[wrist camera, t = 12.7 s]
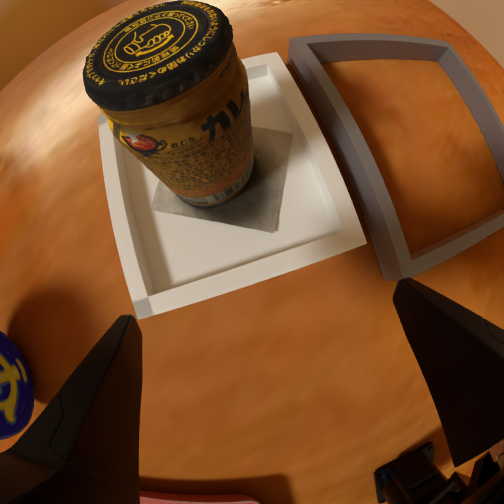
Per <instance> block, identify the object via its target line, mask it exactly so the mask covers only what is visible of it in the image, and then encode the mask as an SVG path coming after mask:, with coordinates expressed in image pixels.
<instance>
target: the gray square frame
mask: <svg viewBox="0 0 504 504" xmlns="http://www.w3.org/2000/svg"><path fill="white" fill-rule="evenodd" d="M366 59H412V60H429V61H438V62H439V64H440V65H441V66H442V68H443V69H444V71H445V72H446V73H447V75H448V76H449V78H450V79H451V81H452V82H453V84H454V85H455V87H456V88H457V90H458V91H459V93H460V94H461V96H462V98H463V99H464V101H465V103H466V104H467V106H468V108H469V109H470V111H471V113H472V115H473V117H474V118H475V120H476V122H477V124H478V126H479V128H480V130H481V132H482V134H483V136H484V138H485V140H486V142H487V144H488V147H489V149H490V151H491V153H492V156H493V158H494V160H495V163H496V165H497V168H498V170H499V173H500V176H501V178H502V181H503V184H504V126H503V124H502V122H501V120H500V118H499V116H498V114H497V113H496V111H495V109H494V107H493V105H492V104H491V102H490V100H489V99H488V97H487V95H486V94H485V92H484V90H483V89H482V87H481V86H480V84H479V83H478V81H477V80H476V78H475V77H474V75H473V74H472V72H471V71H470V69H469V68H468V67H467V65H466V64H465V63H464V61H463V60H462V59H461V57H460V56H459V55H458V53H457V52H456V51H455V50H454V48H453V47H452V46H451V45H450V43H449V42H445V41H440V40H434V39H428V38H421V37H413V36H404V35H392V34H370V33H347V34H325V35H313V36H303V37H295V38H290V41H289V50H288V59H287V61H288V63H289V64H290V66H291V67H292V69H293V71H294V72H295V74H296V76H297V77H298V79H299V81H300V82H301V84H302V86H303V88H304V89H305V91H306V93H307V95H308V96H309V98H310V100H311V102H312V104H313V106H314V107H315V109H316V111H317V113H318V115H319V117H320V119H321V121H322V123H323V125H324V127H325V129H326V131H327V133H328V135H329V137H330V139H331V141H332V143H333V145H334V147H335V149H336V152H337V154H338V156H339V158H340V160H341V163H342V165H343V167H344V169H345V172H346V174H347V176H348V179H349V181H350V184H351V186H352V188H353V191H354V193H355V196H356V198H357V201H358V204H359V206H360V209H361V211H362V214H363V217H364V220H365V222H366V225H367V228H368V231H369V234H370V237H371V240H372V243H373V246H374V249H375V252H376V255H377V258H378V261H379V265H380V268H381V271H382V275H383V278H384V280H392V281H399V280H400V279H402V278H407V277H409V278H412V277H414V276H416V275H418V274H420V273H422V272H424V271H426V270H428V269H430V268H432V267H434V266H436V265H438V264H440V263H442V262H443V261H445V260H447V259H449V258H451V257H453V256H455V255H457V254H458V253H460V252H462V251H464V250H466V249H467V248H469V247H471V246H473V245H474V244H476V243H478V242H480V241H481V240H483V239H485V238H486V237H488V236H490V235H491V234H493V233H495V232H496V231H498V230H499V229H501V228H503V227H504V208H503V209H501V210H499V211H497V212H495V213H494V214H492V215H490V216H488V217H486V218H484V219H482V220H480V221H478V222H476V223H474V224H472V225H471V226H469V227H467V228H465V229H463V230H461V231H458V232H456V233H454V234H452V235H450V236H448V237H446V238H444V239H442V240H440V241H438V242H436V243H433V244H431V245H429V246H427V247H425V248H423V249H420V250H418V251H416V252H414V253H411V254H410V253H409V250H408V247H407V244H406V240H405V237H404V234H403V231H402V228H401V225H400V222H399V219H398V217H397V214H396V211H395V208H394V206H393V203H392V200H391V198H390V195H389V193H388V190H387V188H386V185H385V183H384V181H383V178H382V176H381V174H380V171H379V169H378V167H377V164H376V162H375V160H374V158H373V156H372V154H371V151H370V149H369V147H368V145H367V143H366V141H365V139H364V137H363V135H362V133H361V131H360V129H359V127H358V126H357V124H356V122H355V120H354V118H353V116H352V114H351V113H350V111H349V109H348V107H347V105H346V104H345V102H344V100H343V99H342V97H341V95H340V94H339V92H338V90H337V89H336V87H335V85H334V84H333V82H332V81H331V79H330V77H329V76H328V74H327V73H326V71H325V70H324V68H323V67H322V65H321V64H320V63H328V62H338V61H349V60H366Z"/></svg>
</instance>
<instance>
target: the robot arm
mask: <svg viewBox="0 0 504 504" xmlns="http://www.w3.org/2000/svg"><path fill="white" fill-rule="evenodd" d="M393 303H394V306H395V308H396V311H397V313H398V316H399V319H400V321H401V324H402V327H403V329H404V332H405V335H406V337H407V339H408V342H409V344H410V346H411V348H412V350H413V353H414V355H415V357H416V359H417V362H418V364H419V366H420V369H421V371H422V373H423V376H424V378H425V381H426V383H427V386H428V388H429V391H430V393H431V396H432V398H433V401H434V404H435V406H436V409H437V412H438V415H439V418H440V421H441V424H442V427H443V430H444V433H445V436H446V439H447V443H448V446H449V450H450V453H451V457H452V460H453V464H454V466H455V468H456V467H458V466H460V465H462V464H463V463H465V462H467V461H469V460H471V459H473V458H474V457H476V456H478V455H480V454H481V453H483V452H485V451H486V450H489V451H487V452H486V453H485V454H484V455H483V456H482V457H481V458H479V459H478V460H477V461H476V462H475V465H474V468H473V472H472V475H471V478H470V477H468V476H466V475H463V474H461V473H458V472H456V471H455V472H454V473H453V474H452V475H451V477H450V478H449V479H447V478H446V477H445V476H444V475H443V473H442V472H441V471H440V470H439V469H438V468H437V467H436V466H435V465H434V464H433V456H434V444H433V443H432V442H429V443H427V444H426V445H424V446H422V447H421V448H419V449H417V450H415V451H414V452H412V453H410V454H408V455H406V456H405V457H403V458H401V459H399V460H397V461H395V462H393V463H391V464H389V465H387V466H385V467H383V468H380V469H378V470H376V471H375V472H374V480H375V487H376V494H377V501H378V503H379V504H381V503H384V502H386V501H387V503H388V504H504V330H503V329H501V328H499V327H498V326H496V325H494V324H493V323H491V322H489V321H487V320H486V319H483V318H482V317H481V316H479V315H477V314H475V313H474V312H472V311H470V310H469V309H467V308H465V307H463V306H461V305H460V304H458V303H456V302H454V301H453V300H451V299H449V298H447V297H445V296H444V295H442V294H440V293H438V292H436V291H434V290H433V289H431V288H429V287H427V286H425V285H423V284H421V283H419V282H417V281H416V280H414V279H412V278H409V277H407V278H402V279H400V280H399V281H398V283H397V286H396V289H395V292H394V294H393ZM141 393H142V333H141V330H140V328H139V326H138V324H137V321H136V319H135V317H134V316H133V315H131V314H129V315H121V316H120V317H119V318H118V319H117V320H116V321H115V322H114V323H113V325H112V326H111V327H110V328H109V329H108V330H107V332H106V333H105V334H104V335H103V336H102V337H101V339H100V340H99V341H98V342H97V343H96V345H95V346H94V347H93V348H92V349H91V351H90V352H89V353H88V354H87V356H86V357H85V358H84V359H83V360H82V362H81V363H80V364H79V365H78V367H77V368H76V369H75V370H74V372H73V373H72V374H71V376H70V377H69V378H68V379H67V381H66V382H65V383H64V385H63V386H62V387H61V388H60V390H59V392H57V394H56V395H55V396H54V398H53V399H52V400H51V401H50V403H49V404H48V405H47V407H46V408H45V409H44V410H43V412H42V413H41V414H40V415H39V416H38V418H37V419H36V420H35V421H34V422H33V423H32V424H31V426H30V427H29V428H28V429H27V430H26V431H25V432H24V434H23V435H22V436H21V437H20V438H19V439H18V441H17V442H16V443H15V444H14V445H13V446H12V447H11V448H9V449H8V450H6V451H4V452H1V453H0V504H140V492H139V425H140V407H141Z"/></svg>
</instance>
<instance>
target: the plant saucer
mask: <svg viewBox="0 0 504 504" xmlns="http://www.w3.org/2000/svg"><path fill="white" fill-rule="evenodd" d="M139 492H140V504H261V503H260V502H258V501H257V500H255V499H254V498H252V497H250V496H247V495H244V494H225V495H191V494H174V493H163V492H154V491H146V490H140V489H139Z"/></svg>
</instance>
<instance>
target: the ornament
mask: <svg viewBox="0 0 504 504" xmlns="http://www.w3.org/2000/svg"><path fill="white" fill-rule="evenodd" d="M33 408H34V387H33V383H32V379H31V375H30V373H29V370H28V367H27V365H26V363H25V361H24V358H23V357H22V355H21V353H20V351H19V349H18V348H17V347H16V346H15V344H14V343H13V342H12V341H11V340H10V339H9V338H8V337H7V336H6V335H5V334H4V333H2V332H1V331H0V440H2V439H7V438H10V437H12V436H14V435H16V434H18V433H19V432H21V431H22V430H23V429H24V428H25V427H26V426H27V425H28V423H29V421H30V419H31V416H32V412H33Z"/></svg>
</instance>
